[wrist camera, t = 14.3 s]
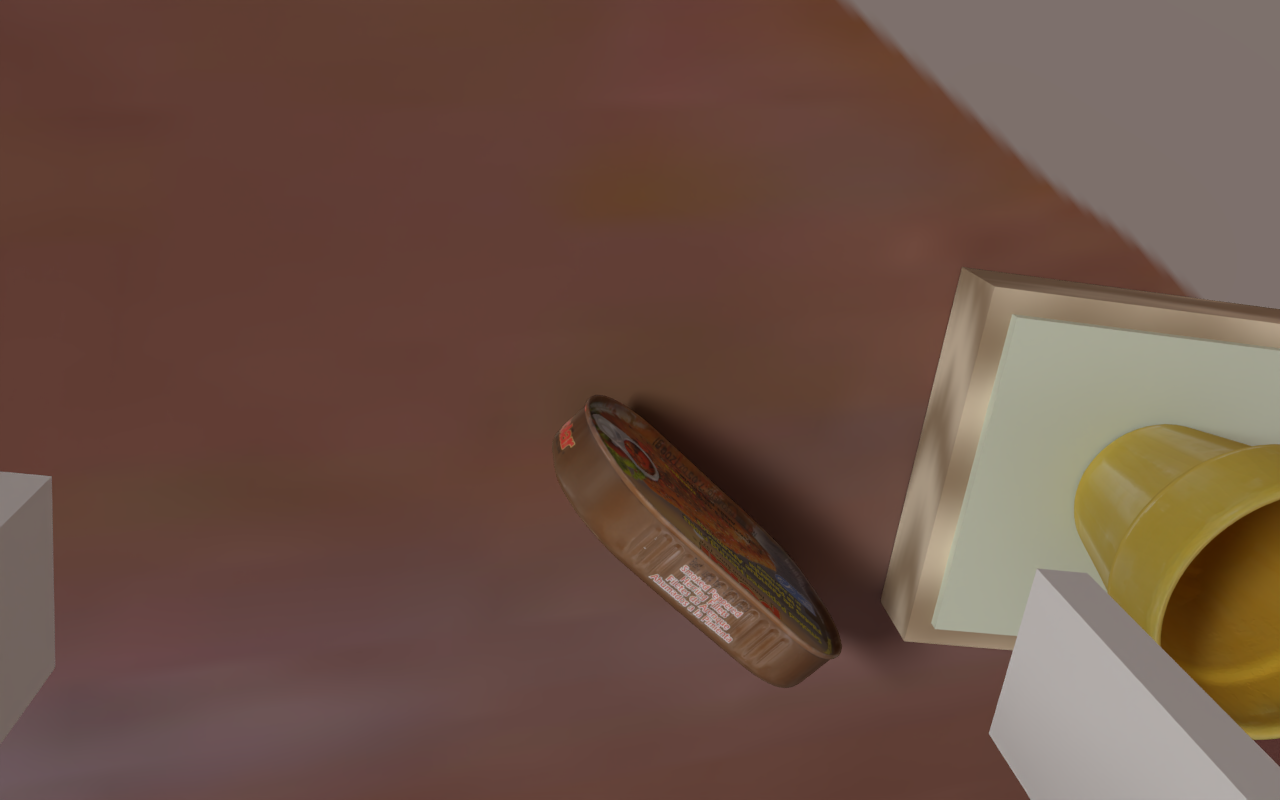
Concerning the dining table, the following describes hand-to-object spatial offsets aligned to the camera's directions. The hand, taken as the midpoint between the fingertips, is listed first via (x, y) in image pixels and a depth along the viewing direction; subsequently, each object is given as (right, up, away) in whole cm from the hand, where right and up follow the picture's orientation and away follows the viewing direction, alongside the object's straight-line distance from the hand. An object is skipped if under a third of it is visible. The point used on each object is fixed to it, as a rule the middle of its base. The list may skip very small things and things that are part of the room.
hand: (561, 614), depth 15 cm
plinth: (+21, 0, +36) cm, 42 cm away
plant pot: (+22, -1, +32) cm, 39 cm away
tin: (+3, -2, +35) cm, 35 cm away
